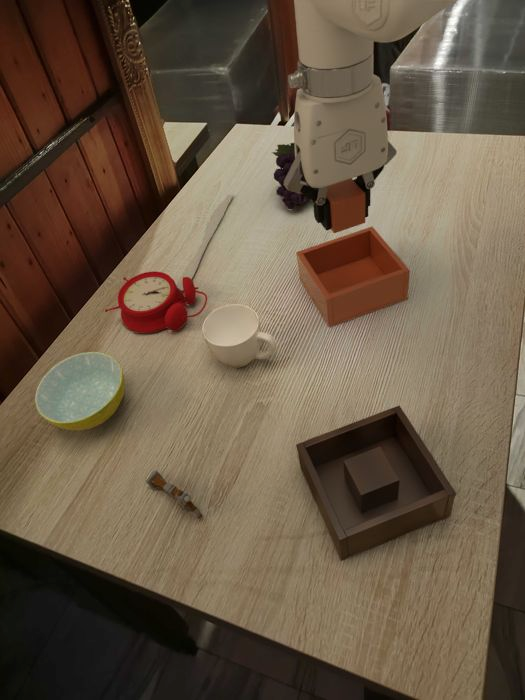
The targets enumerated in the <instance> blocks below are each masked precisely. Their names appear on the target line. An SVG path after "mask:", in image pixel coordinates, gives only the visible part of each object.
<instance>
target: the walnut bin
mask: <svg viewBox="0 0 525 700" xmlns="http://www.w3.org/2000/svg"><path fill="white" fill-rule="evenodd" d="M379 446H380V447H381V448H382V450H383V452H384V453H385V455H386V457H387V459H388V460H389V462H390V464H391V466H392V467H393V469H394V471H395V472H396V474H397V476H398V478H399V479H400V482H399V493H398V499H395V500H393V501H390V502H388V503H385V504H383V505H380V506H378V507H375V508H373V509H370V510H368V511H365V512H363V513H361V511H360V509H359V507H358V505H357V503H356V501H355V499H354V497H353V495H352V493H351V491H350V489H349V487H348V485H347V483H346V481H345V477H344V463H343V460H346V459H348V458H351V457H353V456H356V455H359V454H361V453H364V452H366V451H369V450H371V449H374V448H377V447H379ZM295 447H296V451H297V456H298V461H299V466H300V470H301V473H302V475H303V477H304V480H305V481H306V484H307V486H308V488H309V491H310V493H311V495H312V498H313V500H314V502H315V504H316V507H317V509H318V511H319V513H320V516H321V518H322V520H323V522H324V525H325V528H326V529H327V532H328V534H329V536H330V538H331V541H332V544H333V546H334V547H335V550H336V552H337V554H338V557H339V559H340V561H345V560H347V559H350V558H352V557H353V556H357V555H359V554H361V553H363V552H366V551H369V550H371V549H373V548H376V547H379V546H381V545H383V544H385V543H389V542H390V541H393V540H396V539H398V538H400V537H402V536H403V537H404V536H406V535H407V534H411V533H412V532H416V531H417V530H420V529H423V528H425V527H428V526H430V525H432V524H434V523H438V522H439V521H442V520H445V519H447V518H450V517H451V513H452V509H453V506H454V502H455V499H456V494H457V492H456V491H455V489H454V488H453V486H452V484H451V483H450V481H449V479H448V478H447V477H446V474H445V473H444V472H443V470H442V469H441V467H440V466H439V464H438V463H437V461H436V460H435V457H434V456H433V454H431V452H430V450H429V448H428V447H427V446H426V444H425V442H424V441H423V439H422V437H421V436H420V435H419V433H418V432H417V430H416V428H415V426H414V425H413V423H412V422H411V421H410V419H409V418H408V416H407V415H406V413H405V411H404V410H403V409H402V407H401V405H397V406H394V407H391V408H388V409H386V410H383V411H380V412H377V413H375V414H373V415H370V416H367V417H365V418H361V419H360V420H357V421H354V422H352V423H349V424H346V425H344V426H340V427H338V428H336V429H333V430H330V431H327V432H325V433H322V434H320V435H317V436H314V437H312V438H309V439H307V440H304V441H301V442H299V443H296V444H295Z"/></svg>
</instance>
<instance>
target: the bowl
mask: <svg viewBox="0 0 525 700" xmlns="http://www.w3.org/2000/svg"><path fill="white" fill-rule="evenodd" d="M124 394H125V376H124V372H123V369H122V366H121V365H120V363H119V361H118V360H116V358H114V357H113V356H111V355H109V354H107V353H104V352H100V351H99V352H98V351H86V352H85V351H84V352H80V353H77V354H74V355H71V356H68V357H66V358H64V359H62V360H61V361H58V363H56V364H55V365H53V367H51V368H50V369H49V370H48V371H47V372H46V373H45V374H44V376H43V377H42V378H41V380H40V382H39V384H38V385H37V387H36V391H35V397H34V403H35V408H36V410H37V411H38V414H39V415H40V416H41V417H43V419H44V420H46V421H47V422H49V423H50V424H51V425H53V426H55V427H58V428H60V429H63V430H67V431H84V430H89V429H92V428H95V427H98V426H99V425H102V424H103V423H104V422H106V421H108V419H110V418H111V417H112V416H113V415H114V414H115V412H116V411H117V410H118V409H119V407H120V404H121V402H122V400H123V397H124Z"/></svg>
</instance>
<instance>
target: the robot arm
mask: <svg viewBox="0 0 525 700" xmlns="http://www.w3.org/2000/svg"><path fill="white" fill-rule="evenodd" d="M457 1H458V0H293V5H294V6H293V7H294V17H295V18H294V19H295V29H296V30H295V31H296V39H297V40H296V41H297V50H298V60H297V69H296V70H295V71H294V73H291V74H288V75H287V83H288V85H289V88H290V89H295V88H298V89H297V91H296V95H295V96H296V97H295V104H294V117H293V143H294V147H295V160H294V162H293V164H292V166H291V168H290V170H289V172H288V174H287V176H286V178H285V180H284V185H285V187H286V188H287V189H288V190H289V191H292V192H295V193H298V194H299V193H300V194H303V195H304V196H305V197H307V198H309V199H310V200H311V201H312V207H313V208H312V209H313V217H314V219H315V221H316V223H317V224H320V225H321V226H322V227H323V228H324V230H325V231H327V232H328V231H330V230H331V212H330V204H329V202H328V201H327V199H326V197H327V191H328V186H329V185H333V184H336V183H339V182H342V181H345V180H348V179H351V178H352V179H353V180H354V182H355V183H356V184H357V185H358V186H359V187H360V188H361V189H362V190H363V191H364V192H365V219H367V218H368V217H369V207H370V206H371V189H373V188H375V184H376V180H377V178H378V177H379V176H380V174H381V173H382V172H383V170H384V168H385V166H386V165H388V164H389V163H390V162H391V161H392V160H393V158H394V157H396V156H397V154H398V153H397V152H398V151H397V149H396V148H395V147H394V146H393V144H392V143H391V142H390V141H389V134H388V132H389V131H388V117H387V107H386V101H385V95H384V89H383V84H382V79H381V78H380V77H379V76H378V75H376V74H374V43H382V44H383V43H385V44H386V43H392V42H396V41H399V40H401V39H403V38H405V37H407V36H408V35H410V34H411V33H413V32H414V31H416V30H417V29H418V28H420V27H421V26H423V25H425V24H426V23H427V22H429V21H430V20H431V19H432V18H433V17H434V16H436V15H437V14H439V13H440V12H442V11H443V10H445V9H446V8H448V7H450V6H451V5H452V4H453V3H455V2H457ZM303 174H304V177H305V180H306V181H300V179H301V177H302V176H303Z"/></svg>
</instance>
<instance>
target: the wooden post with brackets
mask: <svg viewBox="0 0 525 700" xmlns="http://www.w3.org/2000/svg"><path fill="white" fill-rule="evenodd" d="M145 482H146V483H147V485H148V486H149V487H150V489H152V491H156V490H157V489H160V490H163V491H164V492H165V493H166V494H169V496H171V497H172V498H176V499H177V500H178V501H179V503H178V506H179V507H180V508H181V509H182V510H184V511H185V512H186V513H189V512H190V513H191V514H192V515H194V516H195V518H196V519H198V520H201V519H202V517H203V516H204V514H203V513H202V512H201V509H199V508H198V506H196V505H195V504H194V502H193V501H192V500H191V499H192V497H191V495H190V494H188V492H186V491H184V490H182V488H181V489H179V487H177V486H176V485H175V484H172V483H171V482H169V481H166V480H165V478H164V477H163V476H162V475H161V474H160V472H159V470H157V469H155V470H154V471H153V472H152V473H151V474H150V475H149V476H148V477H147V478H146V479H145Z"/></svg>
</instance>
